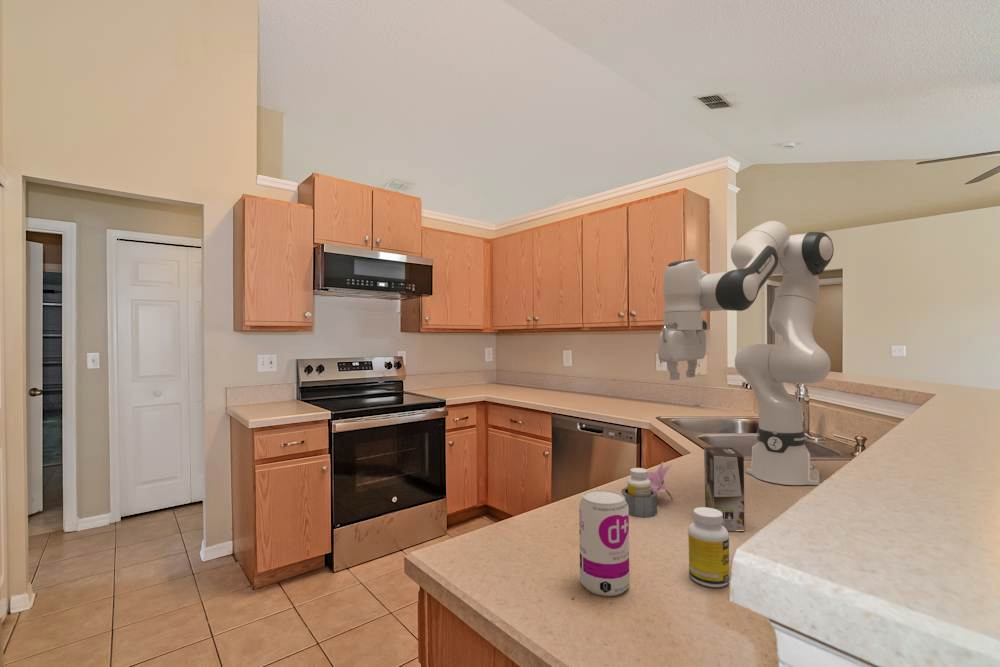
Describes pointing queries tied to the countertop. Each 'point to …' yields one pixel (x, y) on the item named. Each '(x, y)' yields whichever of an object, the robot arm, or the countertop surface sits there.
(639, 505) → the collar
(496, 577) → the countertop surface
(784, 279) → the robot arm
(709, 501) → the coffee box
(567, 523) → the countertop surface
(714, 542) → the pill bottle
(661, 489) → the lily
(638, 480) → the supplement bottle
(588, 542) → the supplement can
